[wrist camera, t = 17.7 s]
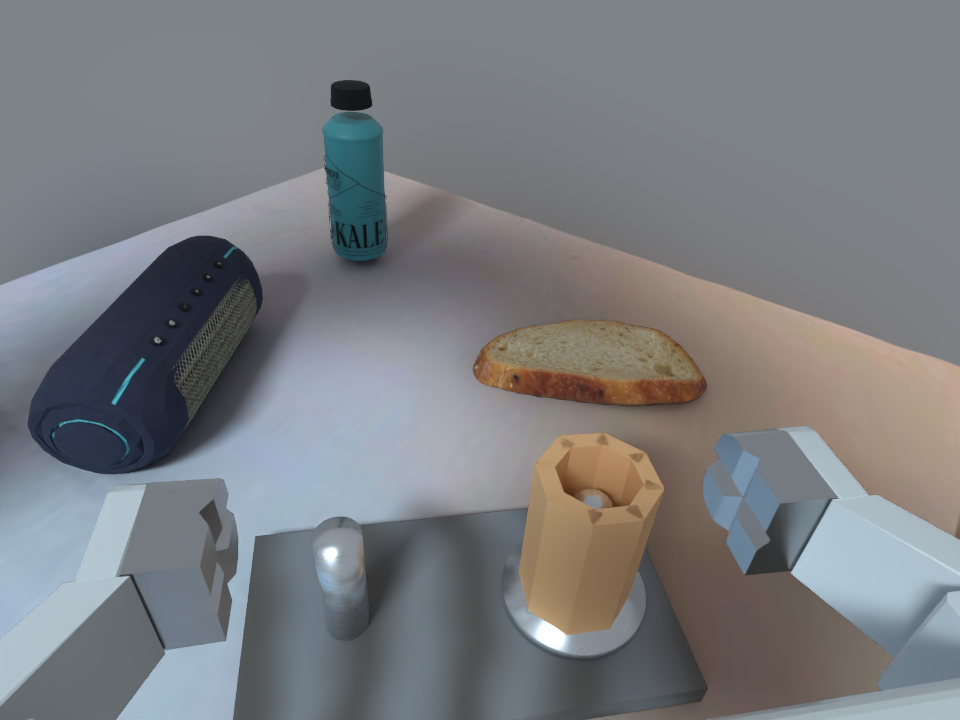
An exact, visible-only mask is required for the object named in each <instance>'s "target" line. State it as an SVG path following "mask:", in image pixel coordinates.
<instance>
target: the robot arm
mask: <svg viewBox="0 0 960 720" xmlns="http://www.w3.org/2000/svg"><path fill="white" fill-rule="evenodd" d="M714 451H715V452H716V454H717V456H718V458H719V459H717V460H716V461H715V462H714V463H713V464H712V465H710V466H709V467H708V468H707V470H706V474H705V477H704V480H703V495H704V500H705V503H706V507H707V509H708V511H709V513H710V515H711V517H712V519H713V521H714V522H716V523H717V524H719V525H720V526H722V527H723V528H725V529H726V530H728V534H727V539H726V544H727V546H728V547H729V549H730V551H731V553H732V554H733V556H734V558H735V560H736V561H737V563H738V565H739V567H740V568H741V570H742V572H743V574H744V575H753V574H764V573H774V572H784V571H792V572H791V574H792V575H793V576H795V577H796V578H797V579H798V580H800V581H801V582H802V583H803V584H804V585H806V586H807V587H808V588H809V589H811V590H812V591H813V592H814V593H816V594H817V595H818V596H819V597H820V598H822V599H823V600H824V601H825V602H827V603H828V604H829V605H830V606H832V607H833V608H834V609H835V610H837V611H838V612H839V613H840V614H841V615H843V616H844V617H845V618H846V619H848V620H849V621H850V622H851V623H853V624H854V625H855V626H856V627H857V628H859V629H860V630H861V631H862V632H864V633H865V634H866V635H867V636H869V637H870V638H871V639H872V640H873V641H875V642H876V643H877V644H878V645H880V646H881V647H882V648H883V649H885V650H886V651H887V652H888V653H889V654H891V655H892V656H893V657H894V658H893V659H892V660H891V661H890V663H889V664H888V665H887V666H886V667H885V669H884V670H883V671H882V672H881V674H880V675H879V678H878V681H877V684H878V686H879V687H880V689H881V690H882V691H876V692H870V693H864V694H857V695H851V696H845V697H839V698H833V699H827V700H821V701H815V702H808V703H802V704H796V705H790V706H784V707H778V708H772V709H765V710H759V711H753V712H747V713H741V714H735V715H729V716H723V717H716V718H710V719H704V720H960V540H958V539H957V538H955V537H953V536H951V535H950V534H948V533H946V532H944V531H942V530H940V529H939V528H937V527H935V526H933V525H931V524H929V523H928V522H926V521H924V520H922V519H920V518H918V517H917V516H915V515H913V514H911V513H909V512H907V511H906V510H904V509H902V508H900V507H898V506H897V505H895V504H893V503H891V502H889V501H887V500H886V499H884V498H882V497H880V496H878V495H868V494H867V493H866V491H865V490H864V489H863V488H862V487H861V485H860V484H859V483H858V482H857V481H856V479H855V478H854V477H853V476H852V475H851V473H850V472H849V471H848V470H847V469H846V467H845V466H844V465H843V464H842V463H841V461H840V460H839V459H838V458H837V457H836V455H835V454H834V453H833V452H832V451H831V449H830V448H829V447H828V446H827V445H826V443H825V442H824V441H823V440H822V439H821V437H820V436H819V435H818V434H817V433H816V431H814V430H813V429H811V428H809V427H808V426H799V427H788V428H779V429H766V430H756V431H746V432H736V433H726V434H724V435H722V436H721V437H720V438H719V439H718V441H717V444H716V446H715V449H714ZM227 500H228V492H227V488H226V485H225V482H224V480H223V479H220V478H218V479H202V480H186V481H171V482H155V483H148V484H133V485H118V486H114V487H113V488H112V489H111V490H110V492H109V493H108V494H107V495H106V498H105V501H104V503H103V506H102V509H101V512H100V514H99V517H98V520H97V522H96V525H95V528H94V531H93V533H92V536H91V539H90V541H89V544H88V547H87V550H86V552H85V555H84V558H83V560H82V563H81V566H80V569H79V571H78V574H77V577H76V579H75V582H67V583H63V584H62V585H60V586H59V587H58V588H57V589H56V590H55V591H54V592H53V593H52V594H50V595H49V596H48V597H47V598H46V599H45V600H44V601H43V602H41V603H40V604H39V605H38V606H37V607H36V608H35V609H34V610H33V611H31V612H30V613H29V614H28V615H27V616H26V617H25V618H24V619H22V620H21V621H20V622H19V623H18V624H17V625H16V626H15V627H14V628H12V629H11V630H10V631H9V632H8V633H7V634H6V635H5V636H3V637H2V638H1V639H0V720H116V719H117V718H118V716H119V715H120V713H121V712H122V711H123V709H124V708H125V707H126V705H127V704H128V703H129V701H130V700H131V699H132V697H133V696H134V695H135V693H136V692H137V691H138V689H139V688H140V687H141V685H142V684H143V683H144V681H145V680H146V679H147V677H148V676H149V675H150V673H151V672H152V671H153V669H154V668H155V667H156V665H157V664H158V663H159V661H160V660H161V659H162V657H163V656H164V655H165V652H164V650H169V649H176V648H182V647H189V646H195V645H202V644H209V643H215V642H222V641H226V637H227V630H228V623H229V617H230V610H231V604H232V599H231V595H230V592H229V588H228V585H227V583H228V582H229V581H230V580H231V579H232V578H233V577H234V576H235V574H236V569H237V561H238V533H237V525H236V521H235V517H234V514H233V513H232V512H230V511H229V510H227V509H226V506H227Z"/></svg>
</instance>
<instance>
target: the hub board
mask: <svg viewBox="0 0 960 720" xmlns="http://www.w3.org/2000/svg"><path fill="white" fill-rule="evenodd" d="M573 497H574V498H575V499H577V500H579V501H581V502H583V503H585V504H586V505H588V506H590V507H592V508H594V509H602V508H612V507H613V504H612V502H611V500H610V499H609V498H608V496H607V495H606V494H604V493H603V492H601V491H599V490H596V489H584V490H581V491H579V492H578V493H576V494H575V495H574V496H573ZM527 514H528V509H518V510H508V511H498V512H488V513H479V514H469V515H459V516H449V517H439V518H430V519H420V520H410V521H400V522H390V523H380V524H371V525H361V526H359V524H358V523H357V522H356V521H354V520H353V519H350V518H347V517H333V518H330V519H327V520H325V521H323V522H322V523H321V524H319V525H318V526H317V528H316V529H315V530H312V531H302V532H292V533H282V534H273V535H263V536H255V544H254V552H253V561H252V569H251V577H250V585H249V593H248V602H247V610H246V618H245V626H244V634H243V643H242V651H241V659H240V667H239V675H238V684H237V692H236V700H235V708H234V716H233V720H584V719H591V718H597V717H603V716H609V715H616V714H622V713H628V712H635V711H641V710H647V709H653V708H660V707H666V706H672V705H678V704H685V703H691V702H697V701H701V700H702V698H703V696H704V694H705V692H706V691H707V689H708V688H707V686H706V683H705V681H704V679H703V676H702V674H701V672H700V670H699V667H698V665H697V663H696V661H695V658H694V656H693V654H692V652H691V649H690V647H689V645H688V643H687V640H686V638H685V636H684V634H683V631H682V629H681V627H680V625H679V622H678V620H677V618H676V615H675V613H674V611H673V609H672V606H671V604H670V602H669V600H668V597H667V595H666V593H665V591H664V588H663V586H662V584H661V582H660V579H659V577H658V575H657V573H656V570H655V568H654V566H653V564H652V561H651V559H650V557H649V555H648V552H647V550H646V548H645V550H644V553H643V556H642V559H641V562H640V565H639V568H638V571H637V574H636V577H635V580H634V583H633V586H632V589H631V592H630V595H629V598H628V599H627V601H626V603H625V604H624V606H623V608H622V609H621V611H620V613H619V614H618V616H617V618H616V619H615V621H614V623H613V624H612V626H611V628H610V629H607V630H600V631H593V632H586V633H579V634H571V635H566V634H564V633H563V632H561V631H560V630H558V629H557V628H555V627H553V626H552V625H550V624H549V623H547V622H546V621H544V620H543V619H541V618H540V617H538V616H536V615H535V614H533V613H532V612H530V611H529V610H528V606H527V602H526V598H525V595H524V591H523V587H522V583H521V579H520V575H519V568H520V561H521V555H522V548H523V541H524V534H525V527H526V521H527Z"/></svg>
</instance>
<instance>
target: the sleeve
mask: <svg viewBox="0 0 960 720" xmlns="http://www.w3.org/2000/svg"><path fill="white" fill-rule="evenodd" d="M584 489H596V490H599V491H601V492H603V493H604V494H606V495H607V496H608V498H609V499H610V500H611V502H612V504H613V507H612V508H602V509H594V508H592V507H590V506H588V505H586V504H585V503H583V502H581V501H579V500H577V499H575V498H574V497H573V496H574V495H575V494H576V493H578V492H579V491H581V490H584ZM664 489H665V488H664V487H663V485H662V483H661V481H660V479H659V477H658V475H657V473H656V471H655V469H654V467H653V465H652V463H651V462H650V460H649V458H648V456H647V454H646V452H643V451H641V450H639V449H637V448H635V447H633V446H631V445H629V444H627V443H625V442H623V441H620V440H618V439H616V438H614V437H612V436H610V435H608V434H606V433H604V432H602V433H590V434H578V435H566V436H559V437H558V438H557V439H556V440H555V441H554V442H553V444H552V445H551V446H550V447H549V448H548V449H547V450H546V451H545V452H544V454H543V455H542V456H541V457H540V458H539V459H538V460H537V461H536V462H535V466H534V473H533V480H532V487H531V493H530V500H529V507H528V514H527V521H526V527H525V534H524V541H523V548H522V555H521V561H520V568H519V575H520V579H521V583H522V587H523V591H524V595H525V598H526V602H527V606H528V610H529V611H530V612H532V613H533V614H535V615H536V616H538V617H540V618H541V619H543V620H544V621H546V622H547V623H549V624H550V625H552V626H553V627H555V628H557V629H558V630H560V631H561V632H563V633H564V634H566V635H571V634H579V633H586V632H593V631H600V630H607V629H610V628H611V626H612V624H613V623H614V621H615V619H616V618H617V616H618V614H619V613H620V611H621V609H622V608H623V606H624V604H625V603H626V601H627V599H628V598H629V595H630V592H631V589H632V586H633V583H634V580H635V577H636V574H637V571H638V568H639V565H640V562H641V559H642V556H643V553H644V550H645V547H646V544H647V541H648V538H649V535H650V532H651V529H652V526H653V523H654V520H655V516H656V513H657V510H658V507H659V504H660V501H661V498H662V495H663V492H664Z"/></svg>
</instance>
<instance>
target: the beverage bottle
mask: <svg viewBox="0 0 960 720" xmlns="http://www.w3.org/2000/svg"><path fill="white" fill-rule="evenodd" d="M331 106H332V107H334V108H336V109H340V110H347V111H355V110H364V109H367V108H370V107H371V106H372V99H371V93H370V87H369V85H368V84H367V83H365V82H362V81H354V80H343V81H337V82H334V83H333V84H332V85H331ZM323 134H324V145H325V161H326V166H325V170H326V172H327V179H326V180H327V182H328V184H327V185H328V193H329V194H328V195H329V204H328V206H329V205H330V209H329V210H330V212H329V213H330V216H331V229H330V232H331V231H332V232H331V234H332V236H331V239H333V243H332V244H333V246H332V247H334V250H335V252H336V254H337V255H338V256H340V257H342V258H344V259H348V260H354V261H364V260H371V259H374V258H377V257H379V256H381V255H382V254H383V253H384V252H385V249H386V247H387V245H388V244H387V242H388V241H386V230H387V231H388V229H386V227H387V226H386V221H387V216H386V210H385V192H384V165H383V136H382V135H383V128H382V126H381V125H380V124H379V123H378V122H377V121H376V120H375V119H373V118H372V117H371V116H370V115H368V114H364V113H358V112H345V113H339V114H336V115H334V116H333V117H332V118H330V119H329V121H327V122H326V124H325V125H324V126H323ZM327 182H326V183H327ZM386 204H387V203H386ZM386 207H387V206H386ZM330 216H329V217H330ZM329 221H330V219H329ZM387 234H388V233H387ZM387 237H388V236H387ZM387 240H388V239H387Z"/></svg>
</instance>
